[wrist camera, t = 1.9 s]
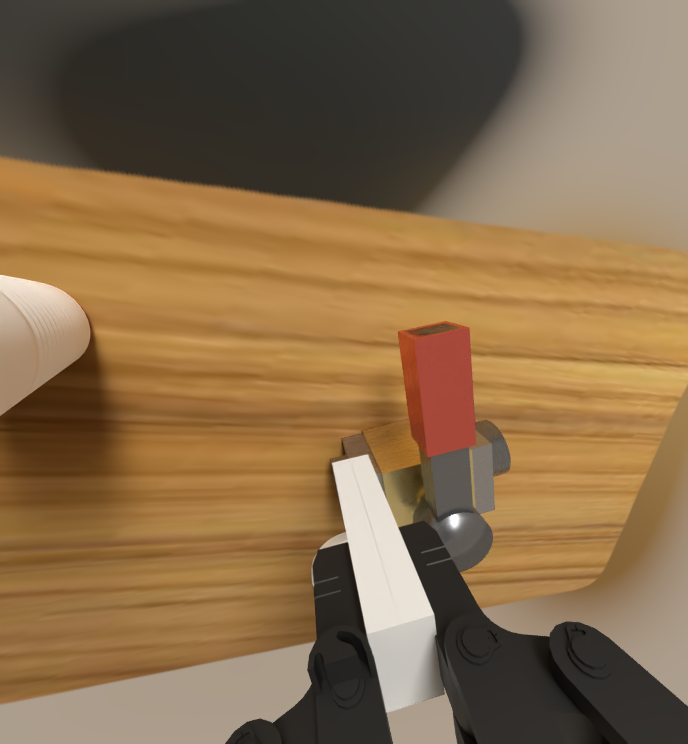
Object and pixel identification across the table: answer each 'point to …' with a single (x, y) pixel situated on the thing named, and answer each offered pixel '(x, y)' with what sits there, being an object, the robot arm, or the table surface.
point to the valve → (403, 466)
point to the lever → (444, 435)
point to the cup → (36, 336)
